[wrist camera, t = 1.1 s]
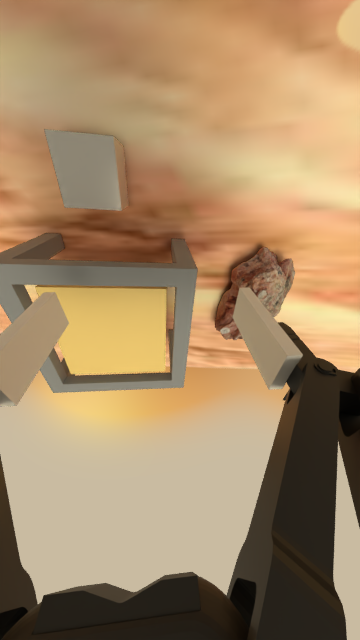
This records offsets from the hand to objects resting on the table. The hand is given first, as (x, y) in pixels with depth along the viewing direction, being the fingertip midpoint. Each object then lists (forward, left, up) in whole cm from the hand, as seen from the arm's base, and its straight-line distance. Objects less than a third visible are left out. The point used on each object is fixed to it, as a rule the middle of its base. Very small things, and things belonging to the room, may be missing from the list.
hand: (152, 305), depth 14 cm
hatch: (+9, -6, -8) cm, 13 cm away
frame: (+9, -6, -18) cm, 21 cm away
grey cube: (-8, -7, -18) cm, 21 cm away
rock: (+7, +17, -19) cm, 26 cm away
